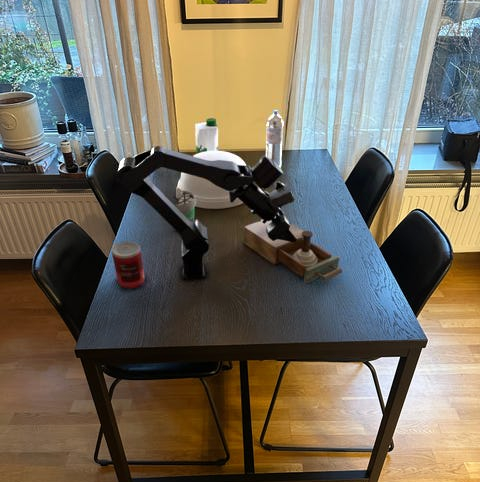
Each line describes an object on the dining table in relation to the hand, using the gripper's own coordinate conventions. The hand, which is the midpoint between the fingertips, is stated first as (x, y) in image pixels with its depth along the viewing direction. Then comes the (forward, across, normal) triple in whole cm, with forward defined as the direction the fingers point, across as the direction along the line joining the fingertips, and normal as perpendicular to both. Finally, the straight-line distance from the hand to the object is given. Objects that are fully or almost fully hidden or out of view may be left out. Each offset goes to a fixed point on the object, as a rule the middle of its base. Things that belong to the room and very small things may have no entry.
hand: (292, 232), depth 130 cm
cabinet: (+7, +12, +10) cm, 17 cm away
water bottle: (+13, +72, +4) cm, 73 cm away
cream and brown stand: (+10, 0, +4) cm, 11 cm away
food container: (-17, +29, +26) cm, 42 cm away
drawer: (+12, -2, +4) cm, 12 cm away
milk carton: (-6, +79, +23) cm, 83 cm away
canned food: (-25, -2, +42) cm, 49 cm away
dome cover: (-5, +55, +22) cm, 60 cm away
